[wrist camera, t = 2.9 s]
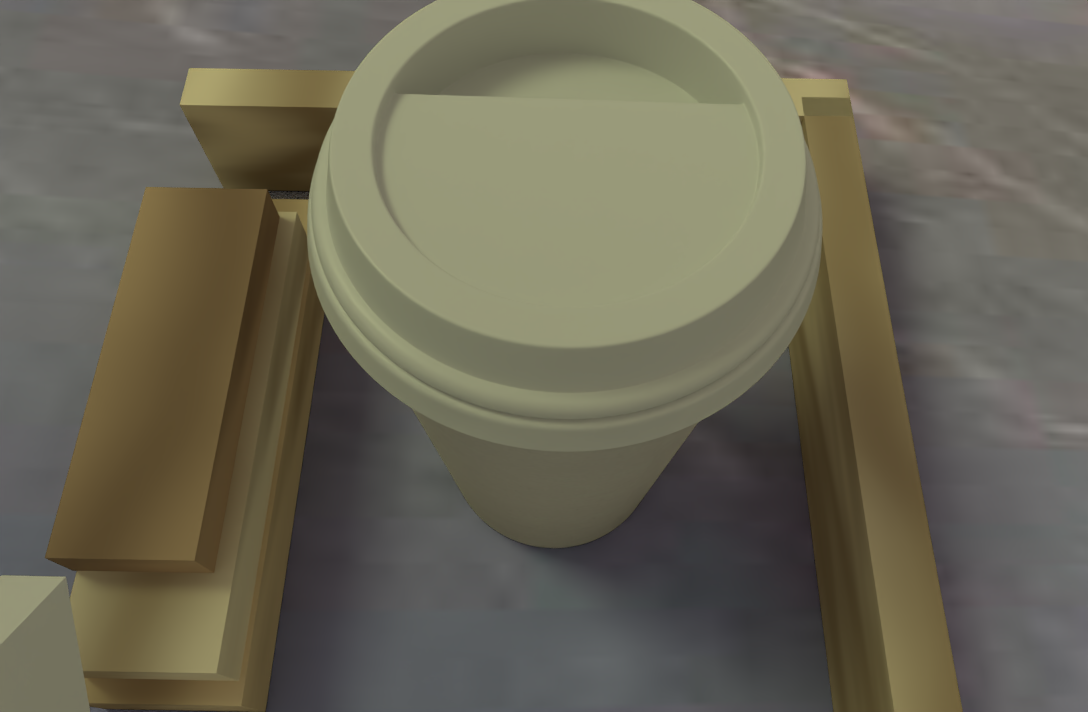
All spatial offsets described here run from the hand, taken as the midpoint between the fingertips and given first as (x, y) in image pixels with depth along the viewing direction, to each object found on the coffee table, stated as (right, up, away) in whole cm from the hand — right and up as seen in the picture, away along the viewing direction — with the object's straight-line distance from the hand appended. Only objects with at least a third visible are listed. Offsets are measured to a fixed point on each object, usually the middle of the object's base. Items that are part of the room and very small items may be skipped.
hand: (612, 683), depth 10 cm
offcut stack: (-11, +1, +17) cm, 20 cm away
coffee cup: (-1, +1, +17) cm, 17 cm away
